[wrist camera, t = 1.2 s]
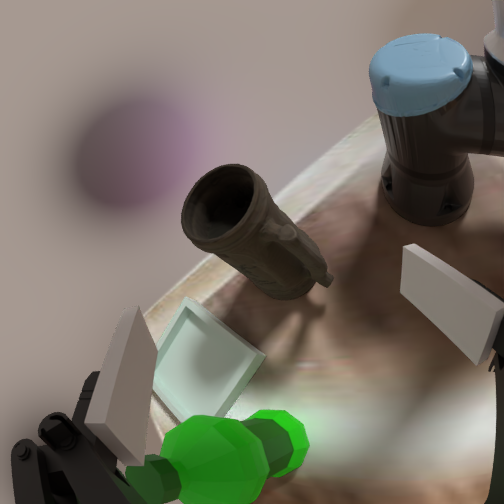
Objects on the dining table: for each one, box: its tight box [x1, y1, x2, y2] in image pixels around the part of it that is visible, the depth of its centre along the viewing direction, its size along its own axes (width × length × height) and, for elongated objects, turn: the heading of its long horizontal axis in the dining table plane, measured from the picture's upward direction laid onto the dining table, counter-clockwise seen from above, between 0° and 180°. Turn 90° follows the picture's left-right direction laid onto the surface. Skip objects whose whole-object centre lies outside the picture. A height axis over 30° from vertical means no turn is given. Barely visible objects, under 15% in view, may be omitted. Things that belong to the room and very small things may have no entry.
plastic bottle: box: [125, 410, 310, 504], centre depth 25 cm, size 10×10×25 cm
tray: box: [152, 296, 266, 423], centre depth 44 cm, size 17×17×3 cm
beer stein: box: [181, 164, 334, 300], centre depth 36 cm, size 15×11×20 cm
